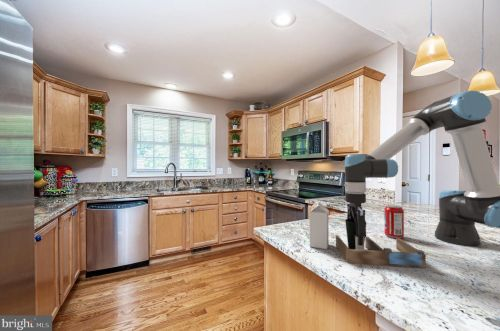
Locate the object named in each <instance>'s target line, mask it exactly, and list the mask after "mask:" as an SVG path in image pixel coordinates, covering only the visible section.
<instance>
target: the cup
mask: <svg viewBox="0 0 500 331" xmlns="http://www.w3.org/2000/svg"><path fill="white" fill-rule="evenodd" d="M344 221H345V229H346V230H345V231H346V238H347V247H348V248H349V249H356V237H355V235H356V223H355V222H351V221H350V219H347V218H346V219H345V220H344ZM365 224H366V225H367V221H366V220H365ZM364 244H365V237H364Z"/></svg>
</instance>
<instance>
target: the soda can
mask: <svg viewBox="0 0 500 331" xmlns="http://www.w3.org/2000/svg"><path fill="white" fill-rule="evenodd" d="M383 210H384V211H383V213H384V215H383V217H384V219H383V220H384V224H383V225H384V227H383V228H384V231H383V233H384V235H385V236H387V237H388V238H392V239H396V238H400V239H402V238H405V237H404V236H405V210H404V209H403V206H401V205H398V204H397V205H396V204H386V205H385V207H384V208H383Z"/></svg>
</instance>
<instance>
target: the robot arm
mask: <svg viewBox="0 0 500 331" xmlns="http://www.w3.org/2000/svg"><path fill="white" fill-rule="evenodd" d="M492 107H493V106H492V101H491V99H490V98H489V97H488V95H486V94H485V93H484V92H480V91H478V90H466V91H462V92H458V93H456V94H453V95H451V96H447V97H445V98H442V99H439V100H437V101H434V102H432V103H430V104H428V105H427V106H425V107H424V108H423V109H422V110H420V111H419V112H418V113H417V114H415V115H414V116H412V117H411V118H410V119H409V120H408V121H407V124H406V125H404V126H403V127H401V128H400V129H399V130H398V131H396V132H395V133H394V134H393V135H392V136H390V137H388V138H387V139H386V140H385V141H384V142H382V143H381V144H380V145H379V146H377V147H375V149H373V150H372V151H371V152H369V153H368V154H367V155H365V154H361V153H360V154H348V155H346V156H345V158H344V184H343V187H345V188H344V191H345V193H344V197H345V198H344V201H345V202H346V203H347V204H346V206H347V207H346V208H347V212H346V214H347V215H346V219H350V221H351V222H355V223H356V235H355V237H356V250H365V243H364V237H367V223H366V224H365V221H366V210H365V209H363V207H362V204H365V203H366V202H367V195H366V192H367V182H366V181H367V179H370V178H371V179H373V178H375V179H377V178H378V179H381V178H382V179H388V178H389V179H390V178H394V177H396V176H397V175H398V173H399V165H398V162H397V161H396V160H395V159H392V158H393V157H394V156H396V155H397V154H398V153H399V152H401V151H402V150H404V149H405V148H406V147H408V146H409V145H410V144H412V143H414V141H416V140H417V139H418V138H420V137H421V136H426V135H428V134H429V133H431V132H432V131H435V130H437V129H440V128H443V129H444V131H445V132H446V133H448V134H449V135H450V136H451V138H452V140H453V143H454V144H453V145H454V147H455V151H456V155H457V157H458V161H459V164H460V165H459V166H460V167H461V172H462V175H463V178H464V182H465V186H466V188H467V190H441V191H440V192H439V197H438V210H439V213H438V215H439V217H438V219H439V221H438V224H437V225H436V228H435V230H434V237H435V238H436V239H437V240H440V241H443V242H445V243H450V244H455V245H460V246H469V247H478V246H481V244H482V240H481V237H480V235H479V232H478V230H477V228H476V224H480V225H483V226H487V227H489V228H497V229H500V184H499V181H498V178H497V174H496V172H495V168H494V165H493V161H492V157H491V154H490V151H489V147H488V144H487V141H486V140H487V139H486V137H485V133H484V131H483V126H485V125H486V123H487V120H486V117H488V116H489V115H490V114H491V111H492V109H493V108H492ZM475 223H476V224H475Z"/></svg>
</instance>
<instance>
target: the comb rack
mask: <svg viewBox="0 0 500 331" xmlns="http://www.w3.org/2000/svg"><path fill="white" fill-rule="evenodd" d="M395 239H396V240H395V242H396V243H395V244H396V248H395V249H396V250H397V251H393V250H392V249H391V248H390V247H383V248H382V247H381V246H380V245H378V244H377V243H376V242H375V241H374V240H373V239H372V238H370V237H369V236H366V237H365V243H364V248H366V249H364V250H356V249H349V248H348V245H347V244H346V243H345V242H344V241H343V240H342V239H341V237H340V236H339V235H338V234H335V247H336V248H337V250H338V251H339V252H340V255H341V256H342V257H343V259H344V260H345V262H346V263H347V264H355V265H356V264H358V265H359V264H360V265H361V264H362V265H375V266H389V267H402V268H403V267H405V268H406V267H407V268H419V269H420V268H421V269H426V267H427V266H426V264H427V263H426V261H427V260H426V259H427V258H426V256H427V254H425V251H423V250H422V249H418V248H416V247H414V246H412V245H411V244H409V243H408V242H406V241H405V240H403V239H402V238H395Z"/></svg>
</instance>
